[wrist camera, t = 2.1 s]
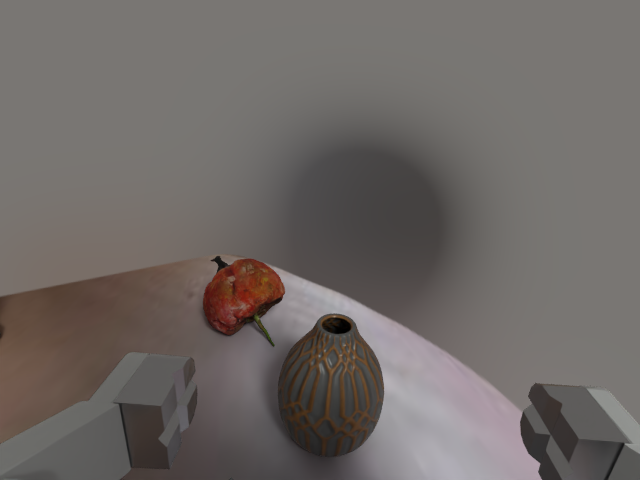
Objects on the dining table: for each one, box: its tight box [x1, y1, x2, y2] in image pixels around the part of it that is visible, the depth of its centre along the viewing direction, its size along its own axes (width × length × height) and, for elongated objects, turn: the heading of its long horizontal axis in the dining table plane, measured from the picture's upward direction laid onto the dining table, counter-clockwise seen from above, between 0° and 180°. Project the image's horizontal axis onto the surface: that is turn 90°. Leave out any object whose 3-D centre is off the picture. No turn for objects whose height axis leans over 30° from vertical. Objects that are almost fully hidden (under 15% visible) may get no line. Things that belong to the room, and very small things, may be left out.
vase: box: [278, 314, 384, 457], centre depth 25 cm, size 7×7×9 cm
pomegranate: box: [203, 256, 285, 347], centre depth 36 cm, size 7×7×10 cm
